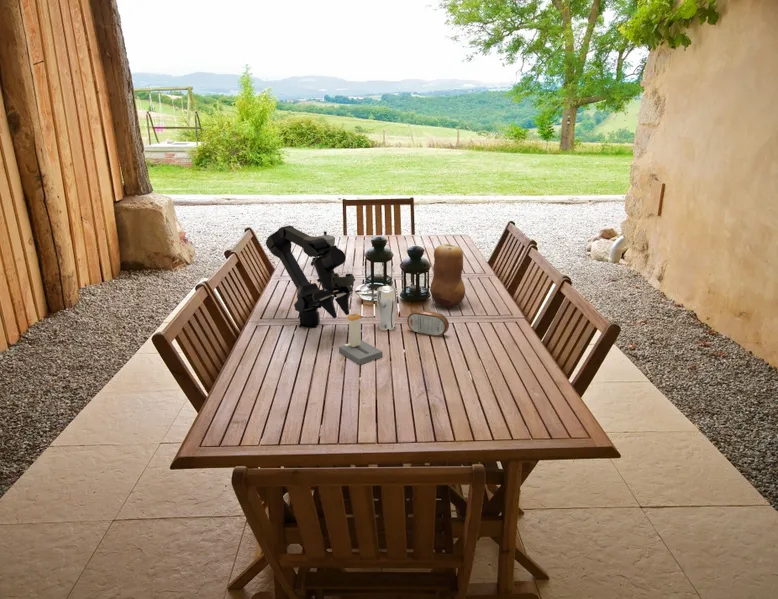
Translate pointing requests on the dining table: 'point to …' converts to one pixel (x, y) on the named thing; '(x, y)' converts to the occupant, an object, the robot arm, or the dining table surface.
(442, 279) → the butternut squash
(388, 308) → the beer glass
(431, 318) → the tin
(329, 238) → the coffeepot
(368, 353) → the switch plate
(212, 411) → the dining table surface
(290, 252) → the robot arm
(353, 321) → the lever
